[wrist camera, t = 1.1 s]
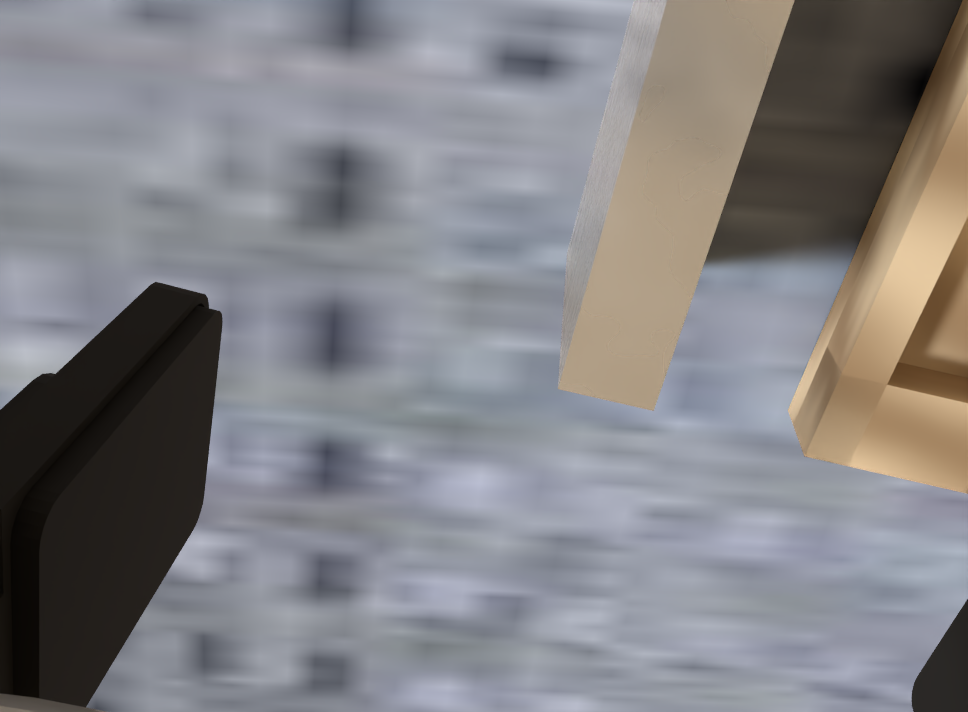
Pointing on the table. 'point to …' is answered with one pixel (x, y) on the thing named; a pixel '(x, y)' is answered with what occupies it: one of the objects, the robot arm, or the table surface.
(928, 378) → the rack
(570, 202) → the table surface
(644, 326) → the blanking panel
